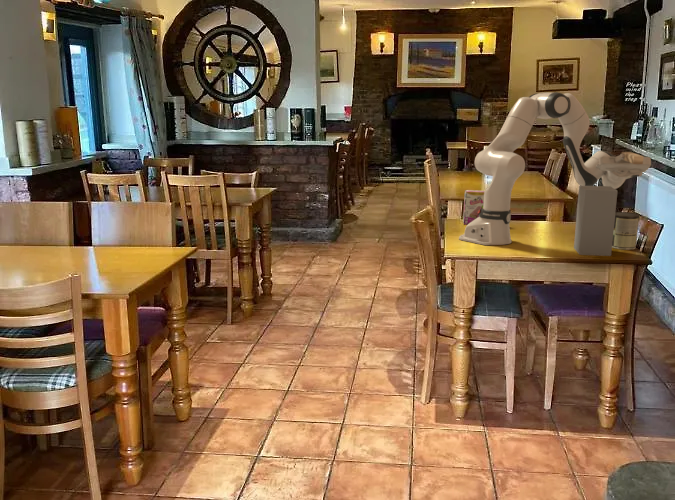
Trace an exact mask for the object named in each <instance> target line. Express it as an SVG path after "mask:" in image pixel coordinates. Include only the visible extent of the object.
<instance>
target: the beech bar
mask: <svg viewBox="0 0 675 500" xmlns="http://www.w3.org/2000/svg"><path fill="white" fill-rule="evenodd" d="M621 154H625V155H624V156H625V158H624V159H622V160H625V161H627V162H630V163H633V164H643V157H645V156H643V155H640V154H638V153H635V152H632V151H622V152H621Z"/></svg>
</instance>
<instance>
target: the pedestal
mask: <svg viewBox="0 0 675 500" xmlns="http://www.w3.org/2000/svg"><path fill="white" fill-rule="evenodd" d="M617 198H618V190H617V189H614V188H612V187H610V186H603V185H593V186H580V185H579V186H578V196H577V205H576V206H577V207H576V219H575V231H574V243H573V248H574V249H573V250H575V251H576V252H577V254H578V255H581V256H602V257H605V256H607V257H611V256H612V249H613V248H612V241H613V231H614V222H615V212H617V211H616V210H617V209H616V208H617V201H618V200H617Z"/></svg>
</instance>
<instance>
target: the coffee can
mask: <svg viewBox="0 0 675 500" xmlns="http://www.w3.org/2000/svg"><path fill="white" fill-rule="evenodd" d="M639 219H640V214H639V213H636V212H630V211H616V212H615V222H614V231H613V241H612V249H617V250H624V251H625V250H626V251H628V250H632V251H633V250H635V249H637V248H636V247H637V238H638V229H639Z"/></svg>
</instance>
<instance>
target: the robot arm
mask: <svg viewBox="0 0 675 500" xmlns="http://www.w3.org/2000/svg"><path fill="white" fill-rule="evenodd" d="M537 119H543V120H552V119H557V120H558V121H559V123H560V124H561V126H562V130H563V139H562V143H563V146H564V150H565V152H566V156H567V158H568V160H569V162H570V163H569V164H570V165H571V168H572V172H573V176H574V179H575V182H576V183H577V184H578V185H579V186H595V184H596V183H597V182H598V181H599V180H600V179H601V183H602V186H610V187H612V188H614V189H616V190H617V189H618V188H620V187H622V185H623V184H624V183H625V182H626V180H627V179H630V178H631V179H632V178H637V177H638V178H639V177H642V176H643V173H645V172H647V171H648V170H649V168H650V167H651V166H652V161H651V160H652V159H651V157H649V156H644V157H643V164H633V163H630V162H627V161H625V160H622V159H624V158H625V156H624V155H625V154H622V153H620V155H617V156H615V155H614V154H612V152H609V151H606V150H598V151H596V152H595V153H594V154H592V156H590V157H589V158H588V159H587V160H586V161H584V160H583V156H582V154H581V151H580V150H581V149H580V147H581V144H582V141H583V139H584V137H585V135H586V134H587V132H588V130H589V128H590V124H591V123H590V118H589V114H588V113H587V111H586V110H585V108H584V106H583V105H582V103H581V102H580V101H579V100H578V99H577V97H576V96H575V95H574V94H572V93H570V92H566V93H561V92H557V91H556V92H555V91H554V92H549V91H548V92H547V91H545V92H539V93H533V94H531V95H529V96H523V97H519V98H518V100H517V101H515V103H514V105H513V106H512V107H511V109H510V111H509V113H508V115H507V116H506V118H505V121H504V123H503V125H502V127H501V129H500V131H499V133H498V134H497V136H496V137H495V138H494V139H493V140H492V142H491V143H490V144H489V145H488V146H487V147H486V148H484V149H482V150H481V151H478V153H477V154H476V156H475V158H474V167H475V169H476V170H477V171H478V172H480V173H481V174H483V175H485V176H490V177H492V179H491V183H490V184H489V186H488V187H486V189H484V191H485V192H484V205H483V209H481V210H479V212H478V213H479V217H478V218H476V219H475V220H473V221H472V222H470V223H469V224H468V225H466V226H465V229H464V233H463V234H460V235H459V237H458V240H460V241H464V242H469V243H473V244H478V245H483V246H495V245H496V246H497V245H498V246H499V245H509V244H511V243H512V239H511V230H510V229H511V227H510V223H511V217H512V215H511V213H512V212H511V198H512V190H513V187H514V186H515V184H516V183H515V182H516V181H517V180H518V179H519V177H521V176H522V175H523V173H525V169H526V162H525V158H523V156H521V155H519V154H518V153H515V152H514V151H516V150H517V149H518V148H520V147H522V146H523V145H524V144H525V142H526V140H527V138H528V136H529V134H530V131H531V130H532V127H533V125H534V122H535V120H537Z"/></svg>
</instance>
